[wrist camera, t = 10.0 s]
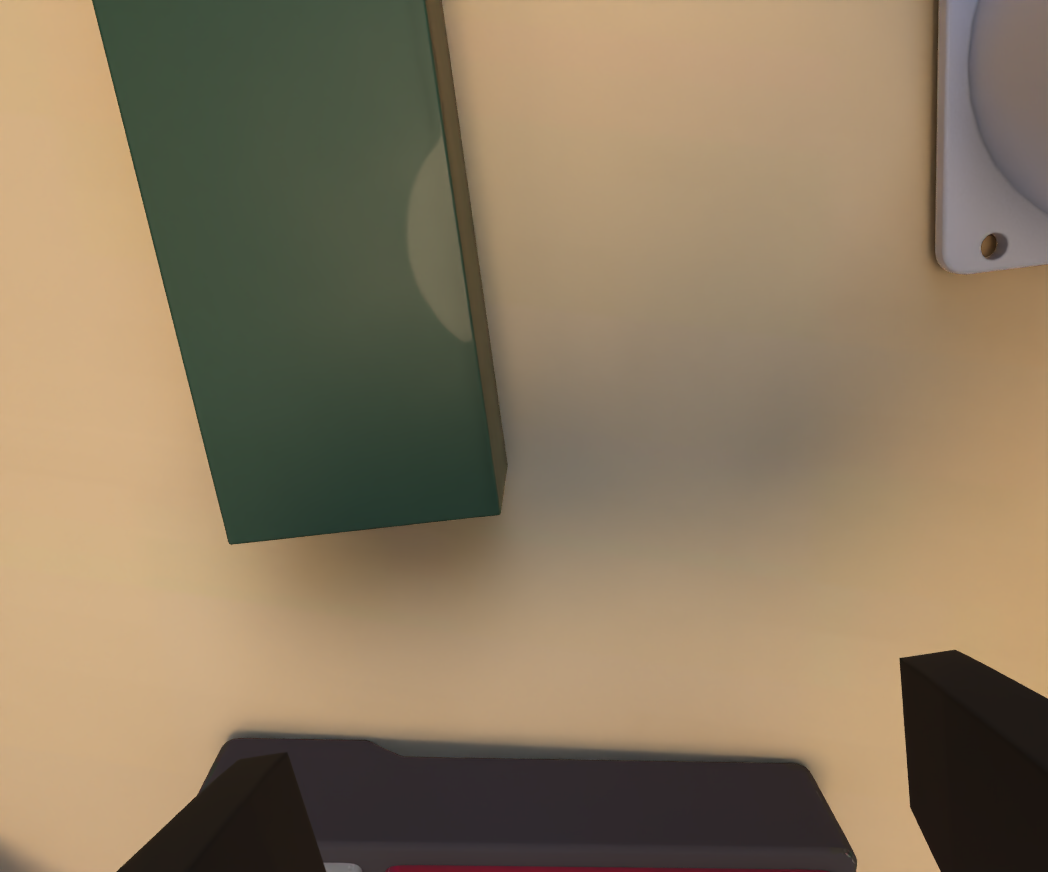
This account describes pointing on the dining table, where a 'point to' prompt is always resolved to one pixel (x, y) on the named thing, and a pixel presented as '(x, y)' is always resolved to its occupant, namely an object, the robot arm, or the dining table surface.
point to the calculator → (553, 812)
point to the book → (315, 256)
